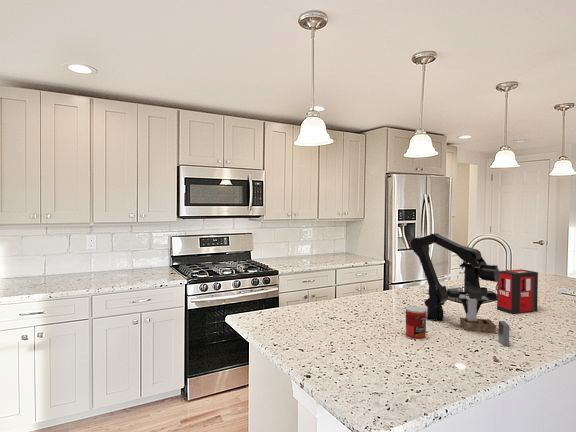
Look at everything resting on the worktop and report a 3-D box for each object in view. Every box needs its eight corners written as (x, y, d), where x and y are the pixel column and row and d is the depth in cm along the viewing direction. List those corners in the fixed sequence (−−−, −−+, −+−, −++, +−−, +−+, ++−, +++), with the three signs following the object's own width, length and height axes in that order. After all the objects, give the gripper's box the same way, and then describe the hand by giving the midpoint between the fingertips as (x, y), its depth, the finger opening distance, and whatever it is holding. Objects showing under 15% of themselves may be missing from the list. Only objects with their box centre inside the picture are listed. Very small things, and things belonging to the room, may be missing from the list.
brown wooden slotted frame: (464, 330, 153) (464, 323, 153) (460, 324, 162) (460, 317, 162) (496, 333, 150) (496, 325, 150) (489, 326, 159) (489, 319, 159)
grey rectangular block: (503, 346, 136) (503, 325, 136) (498, 341, 141) (498, 320, 141) (509, 346, 136) (509, 325, 136) (504, 341, 141) (504, 321, 141)
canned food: (416, 340, 142) (416, 312, 142) (401, 334, 149) (401, 307, 149) (430, 337, 145) (430, 310, 145) (414, 331, 153) (415, 305, 152)
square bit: (467, 322, 156) (467, 299, 155) (465, 320, 159) (466, 297, 159) (476, 323, 155) (476, 300, 155) (474, 321, 158) (474, 298, 158)
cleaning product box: (512, 314, 177) (513, 274, 176) (497, 309, 185) (497, 271, 185) (537, 311, 182) (537, 272, 182) (520, 307, 191) (521, 269, 190)
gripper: (452, 280, 151) (451, 317, 151) (501, 283, 146) (501, 321, 147) (447, 275, 162) (446, 310, 162) (493, 278, 157) (492, 313, 158)
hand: (471, 313), depth 157 cm, fingers closed on square bit, 3 cm apart
